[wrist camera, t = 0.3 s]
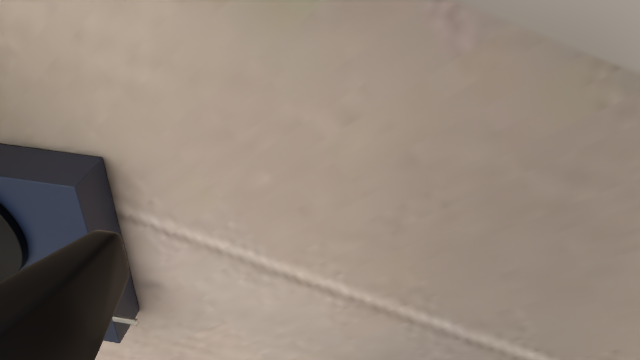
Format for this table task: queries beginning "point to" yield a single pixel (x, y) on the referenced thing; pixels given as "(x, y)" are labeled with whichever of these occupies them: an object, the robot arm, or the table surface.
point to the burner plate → (11, 245)
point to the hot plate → (62, 209)
